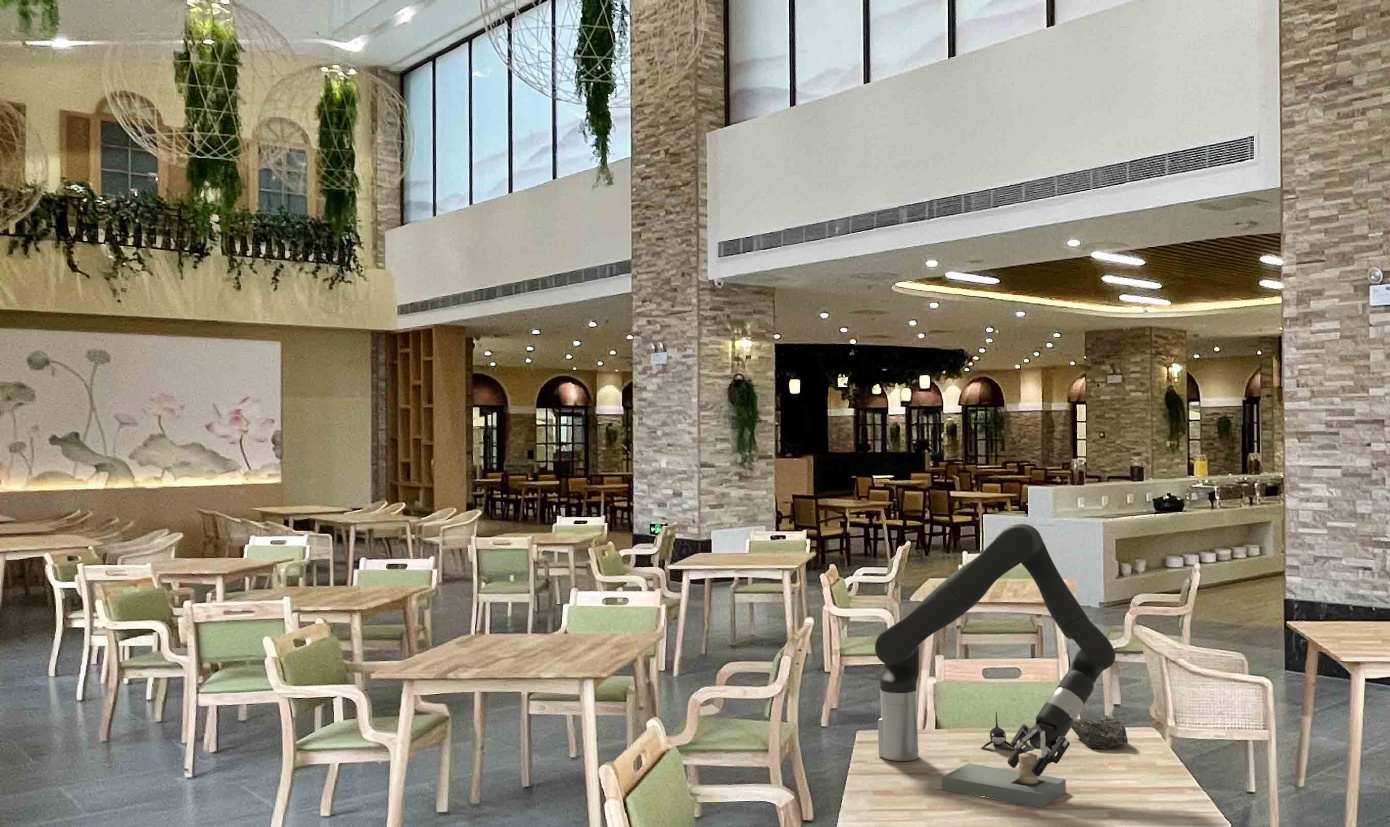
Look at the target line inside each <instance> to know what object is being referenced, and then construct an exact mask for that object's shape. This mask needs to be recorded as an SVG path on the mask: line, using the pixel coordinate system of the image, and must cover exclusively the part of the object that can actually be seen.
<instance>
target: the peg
mask: <svg viewBox="0 0 1390 827" xmlns="http://www.w3.org/2000/svg"><path fill="white" fill-rule="evenodd" d="M1037 760H1038V755H1037V754H1034V753H1029V752H1026V753H1022V754H1019V763H1018V767H1019V768H1018V772H1019V778H1020V780H1019V784H1020V785H1024V786H1030V787H1037V786H1038V784H1039V782H1038V776H1035V775H1034V774H1033V772H1032V771H1031V770H1032V768H1033V766H1034V765H1035V763H1036V762H1037Z"/></svg>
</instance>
